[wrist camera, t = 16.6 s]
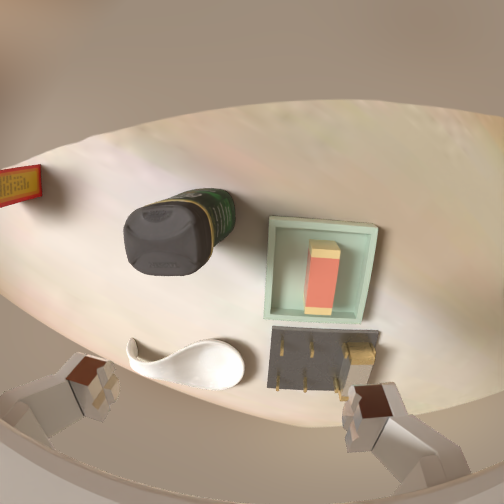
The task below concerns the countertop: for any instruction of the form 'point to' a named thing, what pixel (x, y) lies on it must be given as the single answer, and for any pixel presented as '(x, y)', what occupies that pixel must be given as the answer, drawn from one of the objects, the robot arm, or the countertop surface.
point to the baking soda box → (20, 184)
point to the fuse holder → (320, 359)
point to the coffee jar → (178, 232)
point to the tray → (295, 261)
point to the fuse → (321, 276)
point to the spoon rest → (194, 365)
